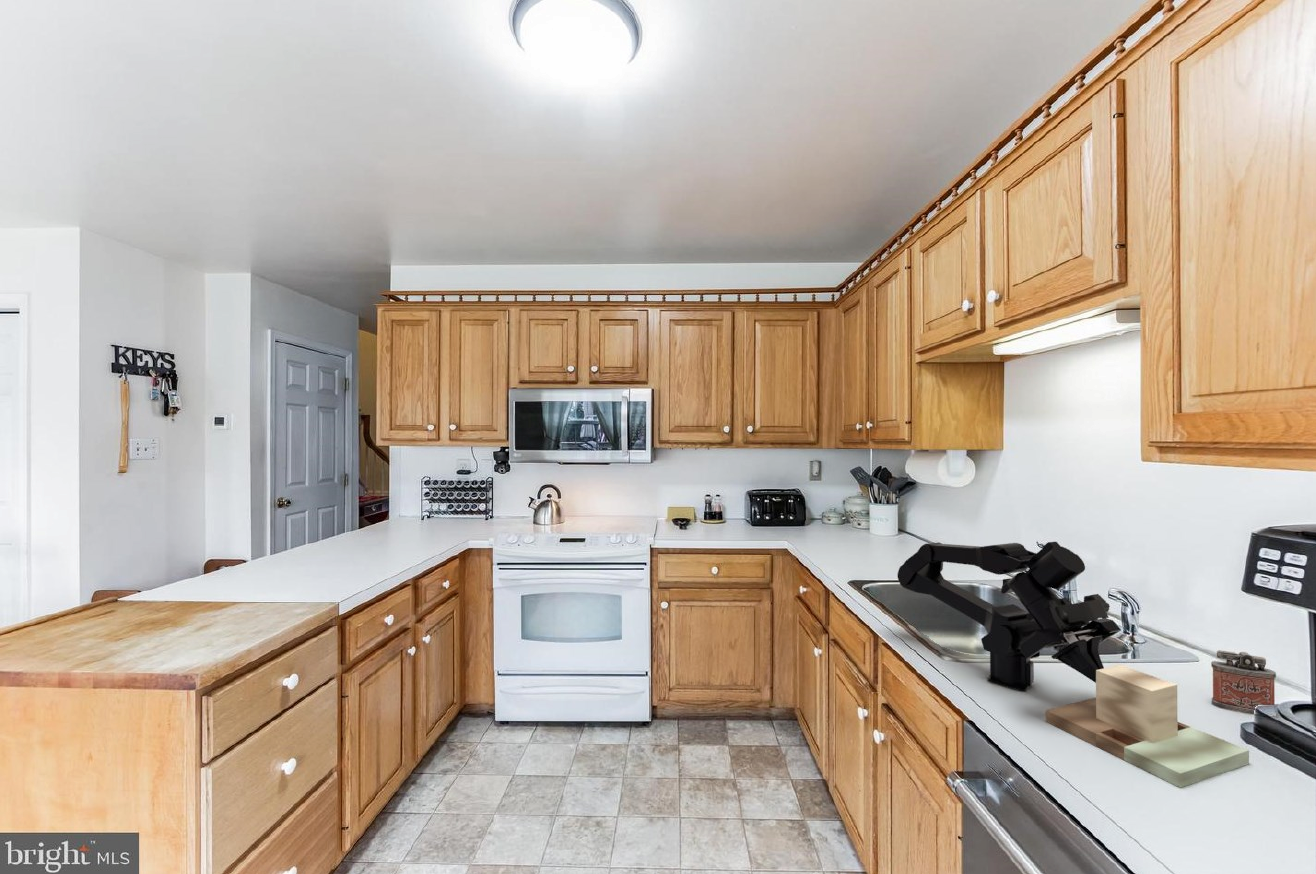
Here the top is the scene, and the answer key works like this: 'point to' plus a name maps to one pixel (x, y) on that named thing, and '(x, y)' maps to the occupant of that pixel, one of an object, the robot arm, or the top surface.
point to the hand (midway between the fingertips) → (1106, 686)
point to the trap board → (1153, 746)
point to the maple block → (1137, 703)
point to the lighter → (1242, 682)
